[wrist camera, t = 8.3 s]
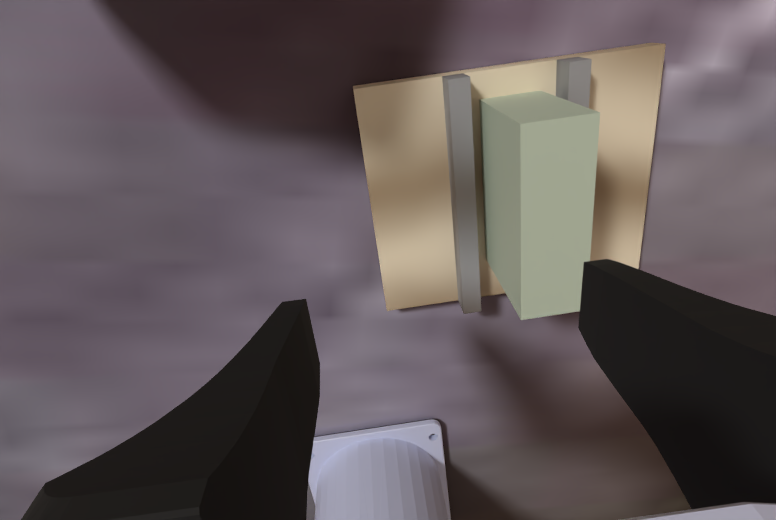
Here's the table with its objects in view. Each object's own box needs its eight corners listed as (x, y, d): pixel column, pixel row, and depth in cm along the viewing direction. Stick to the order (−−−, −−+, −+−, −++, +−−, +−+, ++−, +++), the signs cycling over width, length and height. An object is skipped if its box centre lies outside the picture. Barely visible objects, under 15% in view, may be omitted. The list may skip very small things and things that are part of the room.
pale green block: (538, 250, 22) (586, 310, 18) (485, 258, 22) (520, 320, 17) (540, 90, 19) (600, 112, 14) (479, 99, 19) (520, 124, 14)
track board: (627, 263, 24) (652, 285, 22) (385, 299, 24) (388, 325, 22) (650, 43, 19) (685, 45, 17) (352, 86, 19) (353, 93, 17)
